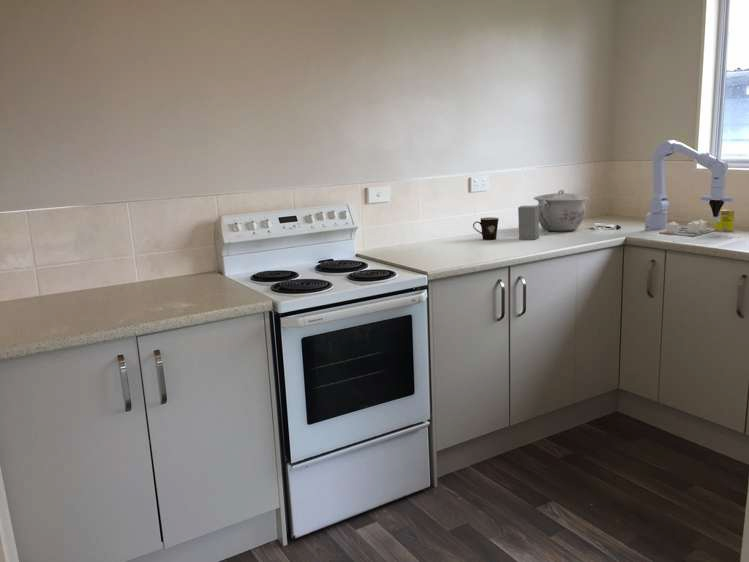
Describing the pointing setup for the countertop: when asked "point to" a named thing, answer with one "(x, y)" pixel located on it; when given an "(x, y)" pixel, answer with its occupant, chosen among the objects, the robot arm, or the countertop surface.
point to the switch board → (688, 232)
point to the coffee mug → (488, 228)
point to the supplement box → (724, 220)
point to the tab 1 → (672, 227)
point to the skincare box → (528, 222)
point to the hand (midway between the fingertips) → (715, 216)
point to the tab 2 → (702, 225)
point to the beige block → (693, 227)
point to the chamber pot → (561, 211)
